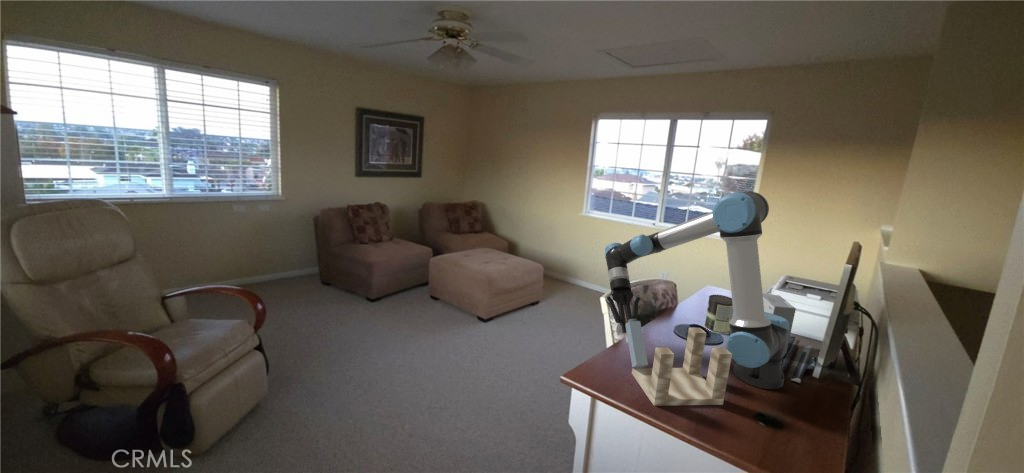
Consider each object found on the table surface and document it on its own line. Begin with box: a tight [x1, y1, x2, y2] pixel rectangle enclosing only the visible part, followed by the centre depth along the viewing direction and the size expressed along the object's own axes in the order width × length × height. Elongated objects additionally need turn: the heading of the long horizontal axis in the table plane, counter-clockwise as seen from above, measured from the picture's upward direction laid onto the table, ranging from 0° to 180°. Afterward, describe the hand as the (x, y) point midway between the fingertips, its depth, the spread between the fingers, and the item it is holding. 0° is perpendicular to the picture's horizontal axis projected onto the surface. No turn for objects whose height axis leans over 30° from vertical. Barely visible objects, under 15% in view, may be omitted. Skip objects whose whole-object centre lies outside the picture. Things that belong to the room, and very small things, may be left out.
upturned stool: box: [631, 327, 732, 407], centre depth 135 cm, size 22×18×17 cm
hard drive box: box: [763, 293, 797, 354], centre depth 167 cm, size 16×8×20 cm, turn 168°
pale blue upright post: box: [625, 318, 649, 368], centre depth 146 cm, size 4×4×16 cm
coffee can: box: [704, 294, 734, 335], centre depth 182 cm, size 10×10×14 cm
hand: (629, 341), depth 150 cm, fingers closed
